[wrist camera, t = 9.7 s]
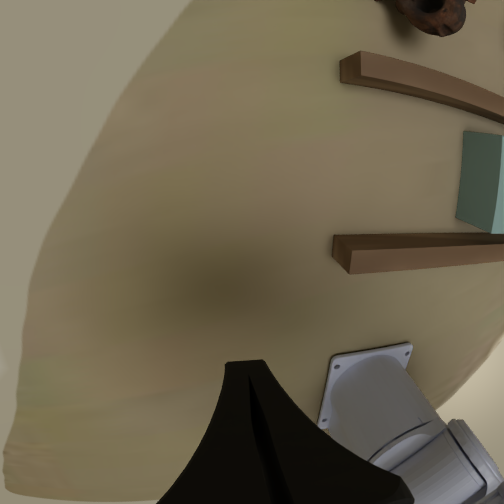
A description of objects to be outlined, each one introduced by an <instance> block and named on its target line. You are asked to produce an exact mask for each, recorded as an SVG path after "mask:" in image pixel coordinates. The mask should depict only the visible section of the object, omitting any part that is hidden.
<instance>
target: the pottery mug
mask: <svg viewBox="0 0 504 504" xmlns="http://www.w3.org/2000/svg"><path fill="white" fill-rule="evenodd" d="M375 1H380V0H375ZM466 1H468V2H470V3H472V4H475V2H476V0H396V7H397V9H398V11H399V12H400V13H402V14H404V15H406V17H407V18H408V19H409V21H410V22H411V24H412V25H414V26H415V27H417V28H418V29H419V30H421V31H423V32H425V33H427V34H431V35H437V36H440V37H444V36H447V35H451V34H454V33H456V32H458V31H459V30H460V29H461V28H462V26H463V25H464V22H465V19H466V10H465V7H464V4H465V2H466Z"/></svg>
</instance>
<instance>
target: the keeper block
mask: <svg viewBox="0 0 504 504" xmlns="http://www.w3.org/2000/svg"><path fill="white" fill-rule="evenodd" d="M456 218H458V219H460V220H462V221H465V222H467V223H469V224H471V225H474V226H476V227H478V228H480V229H482V230H484V231H487V232H489V233H491V234H504V136H502V135H494V134H486V133H477V132H467V131H464V133H463V153H462V167H461V178H460V187H459V196H458V204H457V211H456Z"/></svg>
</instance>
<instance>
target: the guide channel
mask: <svg viewBox="0 0 504 504" xmlns="http://www.w3.org/2000/svg"><path fill="white" fill-rule="evenodd" d="M340 83H347V84H354V85H360V86H366V87H371V88H377V89H382V90H387V91H392V92H397V93H402V94H406V95H410V96H415V97H419V98H423V99H427V100H430V101H434V102H438V103H441V104H445V105H448V106H452V107H455V108H458V109H462V110H465V111H468V112H471V113H474V114H477V115H480V116H483V117H486V118H488V119H491V120H494V121H497V122H499V123H502V124H504V98H503V97H501V96H499V95H497V94H495V93H493V92H490V91H488V90H486V89H483V88H481V87H479V86H476V85H474V84H471V83H469V82H466V81H464V80H461V79H458V78H456V77H453V76H450V75H447V74H445V73H442V72H439V71H436V70H433V69H429V68H426V67H423V66H420V65H416V64H413V63H410V62H406V61H402V60H399V59H395V58H391V57H387V56H383V55H378V54H374V53H369V52H365V51H359V52H357V53H355V54H353V55H351V56H349V57H347V58H345V59H343V60H341V61H340ZM332 257H333V258H334V259H335V260H336V261H337V262H338V263H339V264H340V265H341V266H342V267H343V268H344V269H345V270H346V272H347V273H348V274H362V273H376V272H389V271H401V270H413V269H425V268H436V267H447V266H458V265H468V264H478V263H488V262H498V261H504V234H491V233H412V234H359V235H334V240H333V251H332Z"/></svg>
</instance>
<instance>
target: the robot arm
mask: <svg viewBox="0 0 504 504" xmlns="http://www.w3.org/2000/svg"><path fill="white" fill-rule="evenodd" d="M412 349H413V345H412V344H411V343H404V344H399V345H394V346H389V347H384V348H379V349H373V350H367V351H361V352H355V353H349V354H342V355H337V356H334V357H333V358H332V359H331V363H330V368H329V373H328V378H327V383H326V388H325V392H324V397H323V402H322V406H321V410H320V415H319V419H318V423H317V425H316V424H315V423H314V422H312V421H311V420H310V419H309V418H308V417H307V416H306V415H305V414H304V413H303V411H302V410H301V409H300V408H299V407H298V406H297V405H296V404H295V403H294V402H293V400H292V399H291V398H290V397H289V396H288V394H287V393H286V392H285V391H284V389H283V388H282V387H281V385H280V384H279V383H278V381H277V380H276V378H275V377H274V375H273V374H272V372H271V371H270V369H269V367H268V366H267V364H266V362H265V361H264V360H262V359H261V360H248V361H233V362H227V363H226V364H225V374H224V380H223V385H222V389H221V393H220V396H219V399H218V403H217V406H216V408H215V411H214V414H213V416H212V419H211V421H210V424H209V426H208V428H207V430H206V432H205V435H204V437H203V438H202V440H201V442H200V444H199V446H198V448H197V450H196V451H195V453H194V455H193V456H192V458H191V460H190V461H189V463H188V464H187V466H186V467H185V469H184V470H183V472H182V473H181V474H180V476H179V477H178V478H177V480H176V481H175V482H174V484H173V485H172V486H171V488H170V489H169V490H168V491H167V492H166V493H165V494H164V496H163V497H162V498H161V499H160V500H159V501H158V502H157V503H156V504H504V478H503V477H502V475H501V474H500V472H499V471H498V467H497V465H496V464H495V462H494V461H493V459H492V458H491V457H490V455H489V454H488V452H487V451H486V449H485V448H484V447H483V445H482V444H481V443H480V441H479V440H478V439H477V437H476V436H475V435H474V434H473V432H472V431H471V429H470V428H469V427H468V425H467V424H466V423H465V422H464V420H455V419H452V420H451V421H450V422H449V423H448V425H446V423H445V422H444V421H443V420H442V419H441V418H440V417H439V415H438V414H437V413H436V411H435V410H434V408H433V407H432V405H431V404H430V403H429V401H428V400H427V399H426V397H425V396H424V394H423V393H422V392H421V390H420V389H419V388H418V386H417V385H416V384H415V382H414V381H413V380H412V378H411V377H410V376H409V374H408V373H407V372H406V370H405V369H406V367H407V364H408V361H409V358H410V355H411V352H412ZM336 365H337V366H336ZM325 428H328V429H329V432H330V435H331V437H332V438H331V437H330V436H329V435H327V434H326V433H325V432H324V431H323V430H321V429H325Z"/></svg>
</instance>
